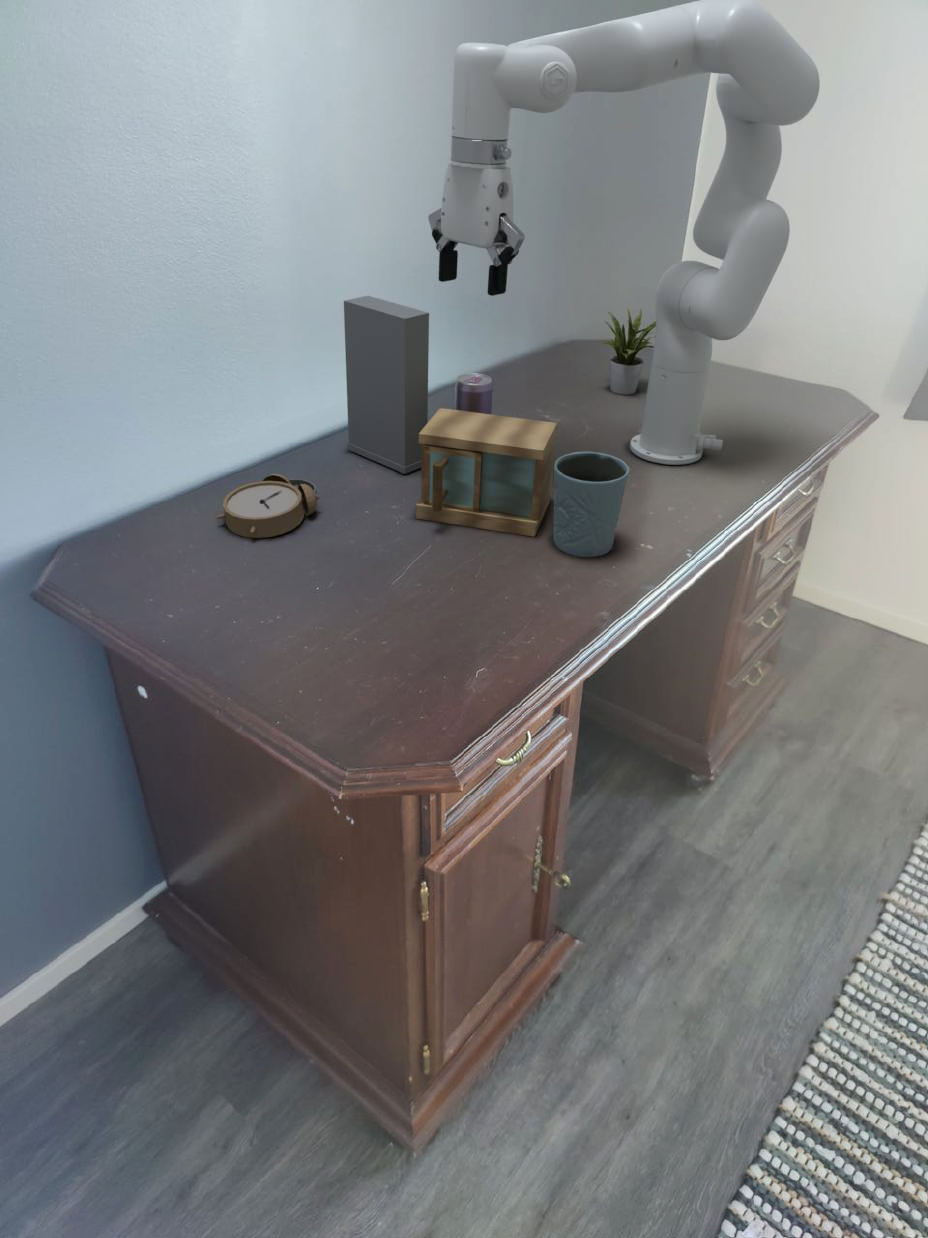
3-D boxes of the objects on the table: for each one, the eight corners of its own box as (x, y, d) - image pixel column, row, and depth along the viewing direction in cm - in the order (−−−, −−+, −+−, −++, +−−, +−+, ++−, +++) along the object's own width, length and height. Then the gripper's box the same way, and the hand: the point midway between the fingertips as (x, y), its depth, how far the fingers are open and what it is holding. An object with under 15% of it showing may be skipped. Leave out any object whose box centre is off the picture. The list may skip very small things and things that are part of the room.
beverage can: (493, 464, 151) (498, 376, 142) (479, 477, 146) (483, 387, 138) (461, 457, 153) (465, 370, 144) (446, 469, 148) (449, 380, 140)
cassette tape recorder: (430, 465, 149) (433, 312, 136) (404, 475, 145) (405, 319, 132) (374, 441, 157) (371, 294, 143) (347, 451, 153) (342, 300, 139)
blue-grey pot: (619, 531, 132) (631, 455, 125) (615, 565, 123) (627, 485, 117) (551, 523, 133) (559, 447, 127) (542, 555, 125) (550, 476, 118)
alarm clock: (204, 504, 128) (279, 456, 136) (213, 532, 131) (286, 483, 139) (258, 528, 122) (333, 476, 131) (266, 557, 125) (338, 504, 134)
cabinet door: (479, 511, 132) (482, 451, 126) (470, 527, 127) (473, 466, 122) (424, 503, 133) (425, 443, 128) (414, 518, 129) (414, 457, 124)
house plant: (666, 405, 177) (680, 322, 168) (596, 403, 177) (606, 319, 168) (654, 382, 189) (666, 302, 180) (589, 379, 189) (598, 300, 180)
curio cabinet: (549, 502, 139) (557, 422, 132) (534, 536, 129) (542, 452, 122) (438, 486, 143) (439, 407, 135) (416, 518, 133) (416, 435, 126)
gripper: (546, 159, 116) (534, 295, 126) (452, 144, 126) (447, 272, 135) (508, 162, 112) (498, 303, 121) (413, 146, 121) (411, 278, 131)
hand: (471, 286), depth 128 cm, fingers open, 9 cm apart
